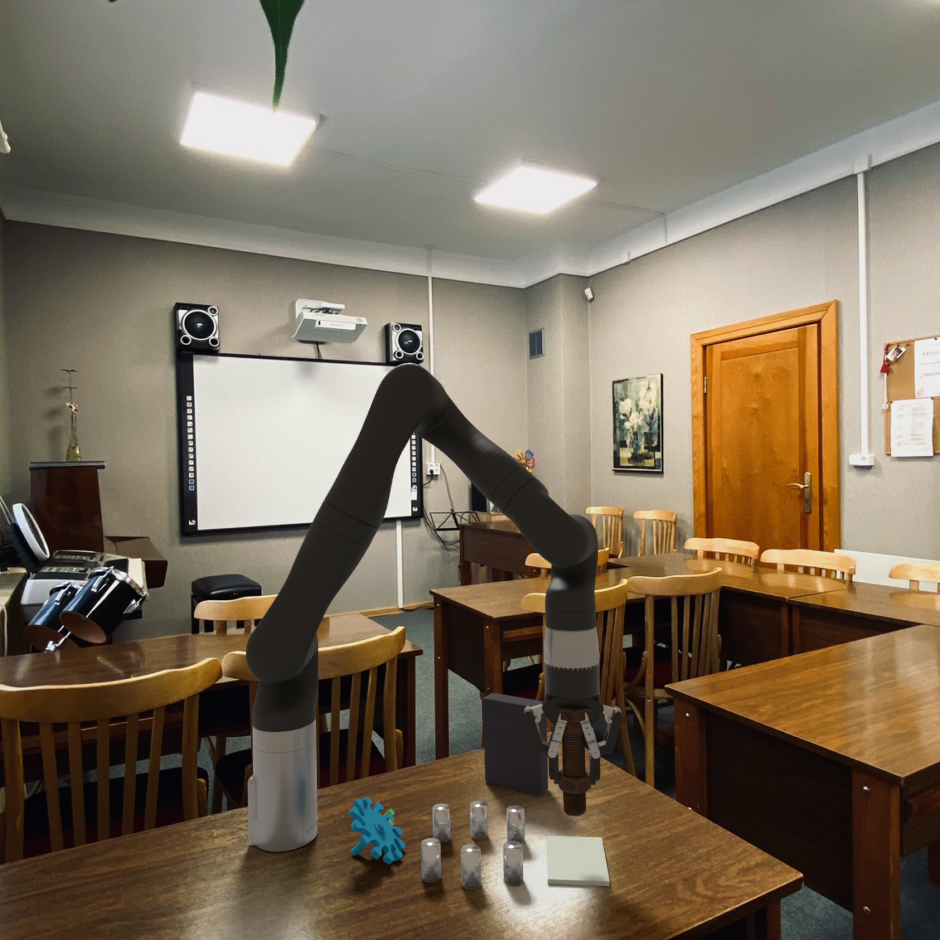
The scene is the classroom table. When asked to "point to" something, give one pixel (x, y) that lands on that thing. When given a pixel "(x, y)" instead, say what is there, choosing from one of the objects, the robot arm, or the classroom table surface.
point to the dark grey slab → (513, 745)
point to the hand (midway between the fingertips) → (574, 781)
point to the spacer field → (472, 851)
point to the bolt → (573, 760)
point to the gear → (376, 830)
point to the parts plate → (576, 861)
